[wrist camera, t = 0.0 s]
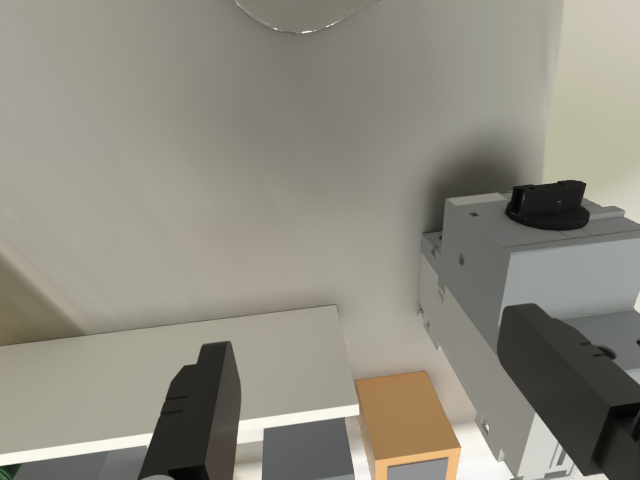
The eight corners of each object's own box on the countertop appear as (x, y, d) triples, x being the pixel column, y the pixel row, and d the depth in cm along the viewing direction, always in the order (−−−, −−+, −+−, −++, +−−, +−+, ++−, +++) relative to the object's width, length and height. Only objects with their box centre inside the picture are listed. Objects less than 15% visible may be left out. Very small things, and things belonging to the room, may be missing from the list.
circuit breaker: (526, 146, 27) (773, 239, 13) (498, 303, 33) (644, 469, 20) (426, 157, 26) (578, 264, 13) (417, 314, 33) (512, 491, 20)
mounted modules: (51, 416, 32) (-20, 530, 24) (336, 378, 33) (354, 473, 26) (78, 459, 35) (22, 573, 27) (340, 422, 36) (356, 520, 29)
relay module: (355, 379, 36) (375, 462, 29) (425, 370, 36) (462, 449, 29) (357, 413, 38) (375, 497, 31) (422, 404, 39) (455, 485, 31)
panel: (-6, 346, 30) (-125, 472, 21) (335, 304, 31) (358, 404, 23) (66, 459, 37) (0, 588, 28) (343, 419, 38) (363, 529, 30)
